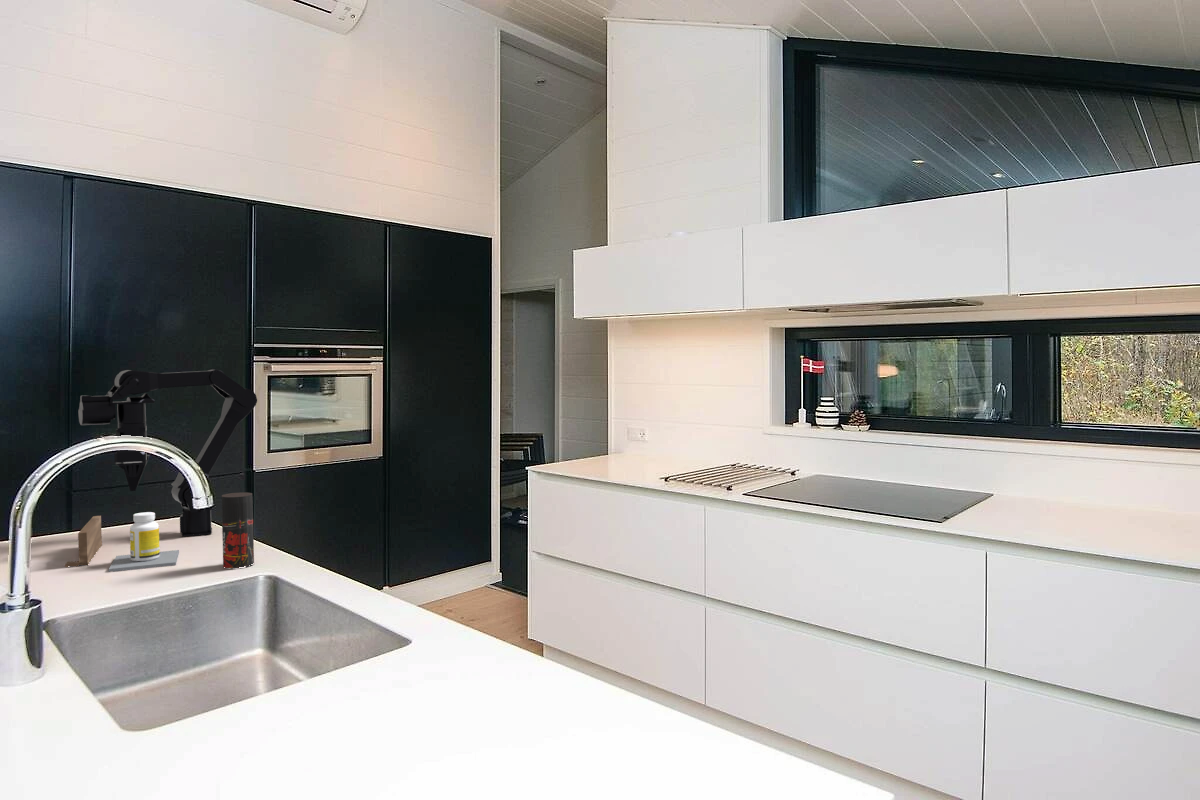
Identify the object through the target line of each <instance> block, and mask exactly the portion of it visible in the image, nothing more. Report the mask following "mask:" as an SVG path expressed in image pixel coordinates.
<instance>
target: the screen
mask: <svg viewBox="0 0 1200 800" xmlns="http://www.w3.org/2000/svg"><path fill="white" fill-rule="evenodd" d="M102 534H103V533H102V515H94V516H92V517H91V518H90V519H89V521H88V522H86V523H85V525H84V526H83V527H82V529H80V531H79V532H78V533H77V538H78V539H77V540H78V543H77V544H78V560H71V561H66V562H65V564H64V568H65V567H66V568H69V567H68V566H76V567H79V566H78V565H87V566H89V565H90V563H91V561H92V560H93V559H92V558H94V557H95V556H96V554H97V553H98V552H99V550H100V549H101V547H102V546H103V541H102V539H103V538H102V537H103V536H102ZM99 548H100V549H99ZM96 552H97V553H96ZM94 555H95V556H94ZM91 559H92V560H91ZM89 562H90V563H89ZM88 564H89V565H88Z"/></svg>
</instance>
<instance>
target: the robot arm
mask: <svg viewBox="0 0 1200 800" xmlns="http://www.w3.org/2000/svg"><path fill="white" fill-rule="evenodd" d="M197 386H198V387H200V386H201V387H202V386H211V387H212V388H213V389H214V390H215V391H216V392H217V393H218V394H219V395H220V396H221V397H222V398H224V401H223V404H222V409H221V415H220V417H219V419H218V421H217V423H216V425H215V426H214V428H213V429H212V432H211V433H210V434H209V437H208V438H207V440H206V441H205V443H204V445H203V446H202V448H201V450H200V452H199V454H198V455H197V457H196V458H195V460H194V462H195V461H196V462H197V463H198V464H199V466H200V467H201V468H202V470H203V471H204V473H205V475H206V476H207V478H208V479H209V477H210V473H211V471H212V470H213V468H214V466H215V464H216V463H217V462H218V459H219V457H220V456H221V454H222V453H223V450H224V449H225V447H226V445H227V443H228V442H229V440H230V438H231V437H232V435H233V434H234V431H235V430H236V427H237V426H238V424H240V423H241V422H242V421H243V420H245V418H246V417H248V415H249V414H250V413H251V412H252V410H253V409H254V408H255V407H256V406H257V403H258V398H257V394H256V393H255V392H254V391H253V390H252V389H249V388H244V387H243V386H241V384H239V383H237V382H236V381H234V380H233V379H231V378H230V377H229V376H228V375H227V374H225V372H224V371H222V370H220V369H209V370H198V371H196V370H194V371H179V372H177V371H176V372H155V371H154V372H153V371H145V370H135V369H133V370H131V369H126V370H121V371H119V373H117V375H116V376H115V378H114V385H113V386H112V387H111V388H110V389H109V391H107V393H106V395H93V396H92V395H80V398H79V399H80V400H79V407H78V422H79V424H80V426H91V425H92V426H93V425H110V424H111V421H114V420H115V419H116V417H117V428H116V429H115V433H114V434H111V435H110V436H121V435H131V436H143V437H147V430H148V429H147V428H148V426H147V416H146V414H147V413H146V412H147V411H146V410H147V409H146V407H147V406H146V404H155V403H156V400H155V399H153V398H152V396H151V397H150V395H149V394H148V393H149V392H152V391H156V390H161V389H169V388H185V387H197ZM140 394H142V395H141V396H135V395H140ZM130 395H134V396H130ZM126 397H127V398H126ZM125 398H126V400H125V401H114V400H123V399H125ZM116 405H117V406H116ZM116 407H117V409H116ZM116 412H117V413H116ZM116 415H117V416H116ZM102 437H104V436H103V435H100V436H97V437H94V438H93V440H94V439H97V438H102ZM100 455H102V454H98V455H94V457H97V456H100ZM150 455H151V454H148V453H145V452H139V451H118V450H116V452H115V453H114V454H113V456H114V458H113V459H114V463H115V465H116V466H117V467H119V468H120V469H122V470H123V471H124V476H125V479H126V482H127V485H128V488H129V491H130V492H136V490H137V488H138V486H139V484H140V483H141V479H142V477H143V474H144V471H145V469H146V466H147V464H148V461H149V458H150ZM170 485H171V486H172V488H171V494H172V495H171V496H172V498H173V499H174V500H175V501H176V502H178V503H180V505H181V508H183V509H182V510H181V515H180V516H179V532H180V533H179V534H181V537H194V536H202V535H205V536H206V535H212V533H213V527H212V509H213V507H212V508H210V509H205V510H195V509H193V507H192V497H191V493H190V489H189V486H188V484H187V482H186V480H185V478H184V477H183V476H182V474H181V473H180V472H179V471H178V473H177V476H176V478H175V479H174V481H173V482H172V483H171V484H170Z"/></svg>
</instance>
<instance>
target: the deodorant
mask: <svg viewBox="0 0 1200 800" xmlns="http://www.w3.org/2000/svg"><path fill="white" fill-rule="evenodd" d="M253 505H254V502H253V493H252V492H231V493H229V492H228V493H224V494H222V495H221V526H222V527H221V528H222V529H221V530H222V531H221V534H222V535H221V536H222V566H223V567H222V568H224V567H225V568H224V569H226V568H239V567H244V566H249V565H251V564H253V563H254V564H255V552H254V551H255V546H254V545H255V544H254V539H255V538H254V507H253Z"/></svg>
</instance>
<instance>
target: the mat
mask: <svg viewBox="0 0 1200 800" xmlns="http://www.w3.org/2000/svg"><path fill="white" fill-rule="evenodd" d="M179 555H180V549H175V550H163V551H160V555H159V557H158V558H157V559H154V560H149V561H132V560H131V556H130V554H123V555H122V554H121V555H116V556H115V558H114V559H113V561H112V563H111V565H110V566H109V568H108V572H109V573H111V572H110V571H113V572H121V571H122V570H123V571H130V570H131V571H132V570H140V569H141V570H142V569H152V568H160V567H169V566H170V567H172V566H176V565H177V562H178V558H179ZM120 570H121V571H120Z"/></svg>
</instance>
